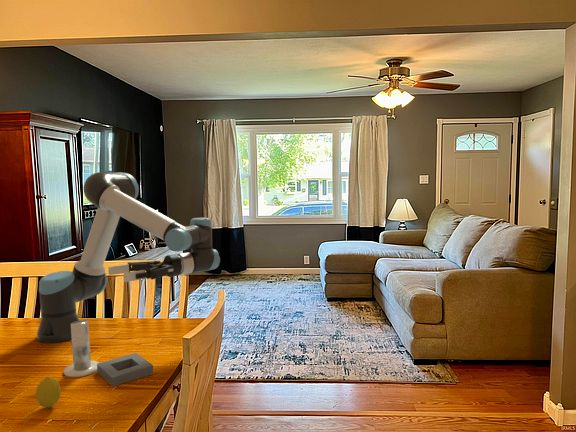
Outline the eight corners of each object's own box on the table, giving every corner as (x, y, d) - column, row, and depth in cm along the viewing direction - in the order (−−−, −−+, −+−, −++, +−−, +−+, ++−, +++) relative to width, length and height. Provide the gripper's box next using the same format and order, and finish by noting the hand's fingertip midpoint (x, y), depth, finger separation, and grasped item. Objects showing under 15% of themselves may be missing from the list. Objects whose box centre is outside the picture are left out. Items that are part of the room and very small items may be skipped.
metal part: (71, 367, 134) (68, 322, 133) (88, 362, 137) (85, 319, 136) (76, 372, 131) (73, 326, 129) (93, 367, 134) (90, 322, 133)
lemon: (51, 414, 109) (48, 383, 108) (31, 412, 110) (29, 381, 109) (66, 403, 114) (64, 373, 113) (48, 401, 115) (46, 371, 115)
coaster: (60, 369, 135) (60, 367, 135) (94, 360, 141) (94, 358, 141) (69, 380, 127) (69, 377, 127) (104, 370, 134) (104, 367, 134)
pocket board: (97, 371, 133) (96, 363, 132) (136, 360, 140) (135, 352, 140) (112, 386, 123) (112, 377, 123) (153, 373, 131) (153, 365, 130)
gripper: (195, 281, 144) (131, 293, 130) (162, 270, 163) (103, 279, 149) (195, 258, 143) (130, 268, 130) (161, 250, 162) (102, 257, 148)
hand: (116, 274), depth 139 cm, fingers open, 13 cm apart
